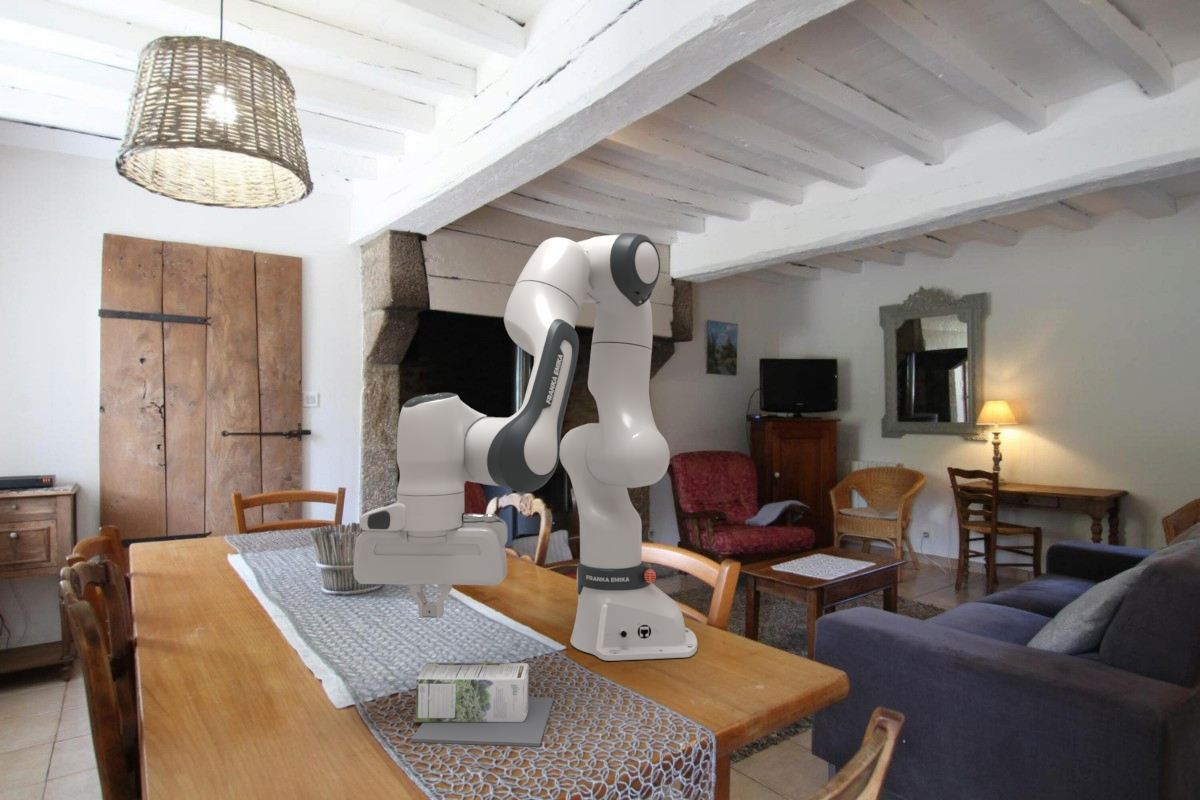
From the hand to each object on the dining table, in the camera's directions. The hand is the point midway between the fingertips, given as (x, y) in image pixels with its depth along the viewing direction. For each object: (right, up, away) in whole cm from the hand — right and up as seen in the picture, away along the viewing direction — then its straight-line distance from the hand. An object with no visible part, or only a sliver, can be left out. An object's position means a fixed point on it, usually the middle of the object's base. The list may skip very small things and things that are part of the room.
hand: (431, 616), depth 88 cm
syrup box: (-2, -10, 0) cm, 10 cm away
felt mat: (+8, -13, -1) cm, 15 cm away
